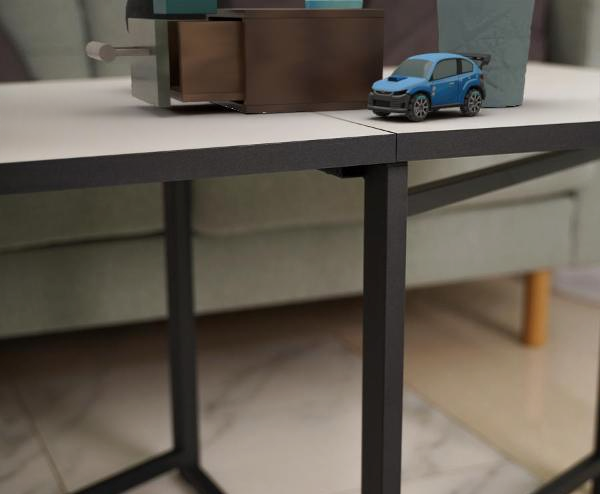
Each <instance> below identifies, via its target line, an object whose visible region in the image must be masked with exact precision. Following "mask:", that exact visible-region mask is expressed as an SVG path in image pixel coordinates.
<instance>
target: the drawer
mask: <svg viewBox="0 0 600 494" xmlns="http://www.w3.org/2000/svg"><path fill="white" fill-rule="evenodd" d="M128 30H129V34H128V44H129V45H125V46H123V45H122V46H121V45H120V46H114V45H112V44H109V43H104V42H99V41H95V40H93V41H90V42H88V43H87V44H86V46H85V53H86V55H87V56H88V57H89V58H91V59H95V60H98V61H101V62H103V63H111V62H113V61H115V59H116V57H129V62H130V64H129V65H130V82H131V83H130V85H131V97H133V98H135V99H138V100H140V101H142V102H144V103H147V104H150V105H152V106H154V107H157V108H171V107H172V100H175V101H177V102H181V103H203V102H204V103H207V102H209V101H235V100H244V79H243V24H242V20H161V19H145V18H128ZM171 99H172V100H171ZM209 103H210V102H209Z"/></svg>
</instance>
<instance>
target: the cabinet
mask: <svg viewBox="0 0 600 494" xmlns="http://www.w3.org/2000/svg"><path fill="white" fill-rule="evenodd" d="M385 15H386V10H385V8H362V9H306V8H235V9H217V14H206V20H242V24H243V79H244V100H235V101H209V103H211V102H212V103H211V104H214V103H216V104H215V105H217V104H219V105H218V106H220V105H223V106H227V107H229V108H233V109H235V110H234V111H236V110H239V111H241V112H240V113H242V112H244V113H243V114H245V113H263V112H285V113H294V112H293V111H307V112H323V111H324V112H327V111H345V110H346V111H347V110H351V111H352V110H368V109H367V106H368V95H369V94H370V93H371V89H372V87H373V84H374V83H375V82H377V81H379V80H383V79H384V51H385V50H384V48H385V18H386V16H385ZM223 106H222V107H223ZM229 108H228V109H229ZM239 111H238V112H239ZM263 114H264V113H263Z"/></svg>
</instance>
